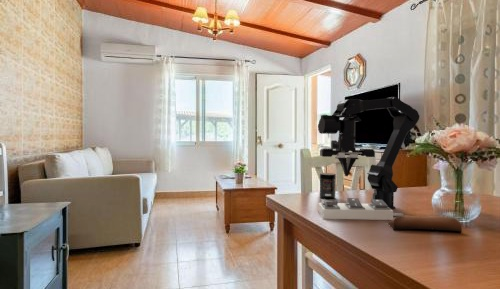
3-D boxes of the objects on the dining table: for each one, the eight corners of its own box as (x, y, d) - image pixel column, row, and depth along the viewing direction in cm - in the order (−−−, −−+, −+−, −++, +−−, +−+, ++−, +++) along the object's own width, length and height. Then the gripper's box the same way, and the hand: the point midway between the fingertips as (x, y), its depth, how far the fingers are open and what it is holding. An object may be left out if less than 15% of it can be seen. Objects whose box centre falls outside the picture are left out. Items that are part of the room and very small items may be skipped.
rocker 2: (381, 202, 105) (381, 199, 105) (387, 208, 100) (387, 205, 99) (370, 201, 105) (371, 199, 105) (376, 208, 100) (376, 205, 100)
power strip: (396, 212, 108) (396, 202, 108) (409, 220, 98) (409, 209, 98) (318, 211, 109) (318, 201, 109) (323, 218, 99) (323, 207, 99)
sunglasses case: (446, 224, 93) (452, 208, 90) (457, 243, 87) (464, 226, 84) (384, 222, 95) (388, 206, 92) (390, 240, 89) (394, 224, 86)
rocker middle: (357, 200, 105) (358, 198, 105) (362, 208, 100) (362, 206, 100) (347, 200, 105) (347, 197, 105) (350, 208, 101) (351, 206, 100)
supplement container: (333, 196, 137) (333, 173, 137) (337, 199, 130) (337, 174, 130) (318, 196, 137) (318, 172, 137) (321, 199, 131) (321, 174, 130)
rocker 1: (334, 204, 106) (334, 201, 106) (337, 204, 100) (337, 201, 101) (323, 203, 106) (323, 201, 106) (326, 204, 101) (326, 201, 101)
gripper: (365, 134, 121) (365, 173, 121) (317, 134, 122) (317, 173, 122) (375, 133, 109) (375, 177, 110) (322, 133, 111) (322, 176, 111)
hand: (346, 176), depth 113 cm, fingers closed
